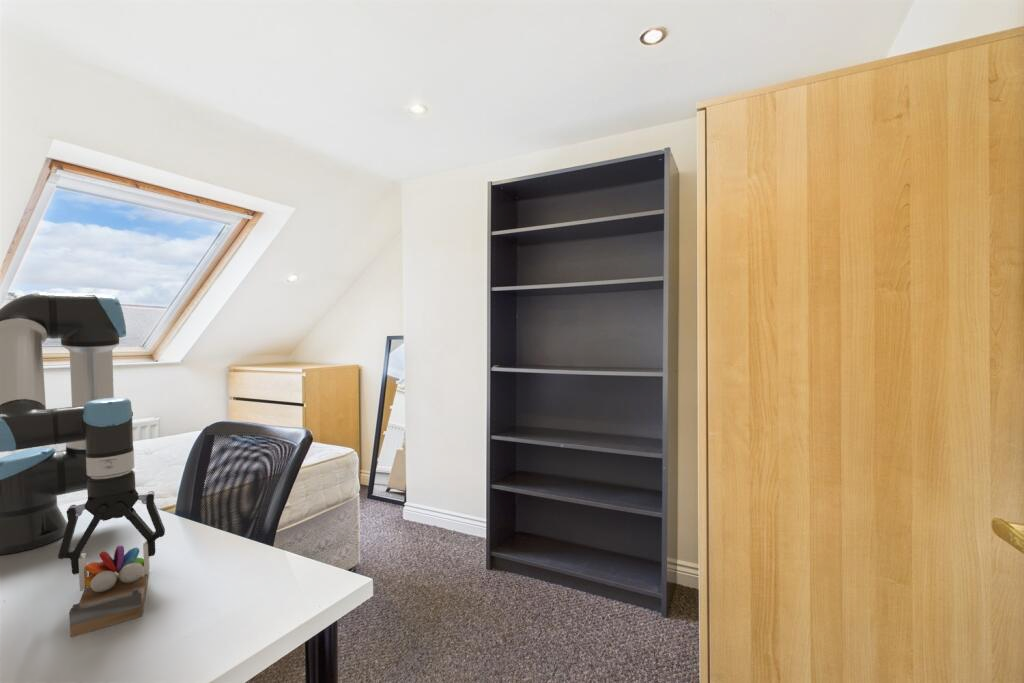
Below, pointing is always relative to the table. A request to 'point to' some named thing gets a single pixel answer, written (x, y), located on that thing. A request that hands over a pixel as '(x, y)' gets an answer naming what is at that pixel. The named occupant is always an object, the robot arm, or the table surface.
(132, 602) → the wooden display stand
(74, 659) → the table surface
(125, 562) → the rainbow wooden ball puzzle
